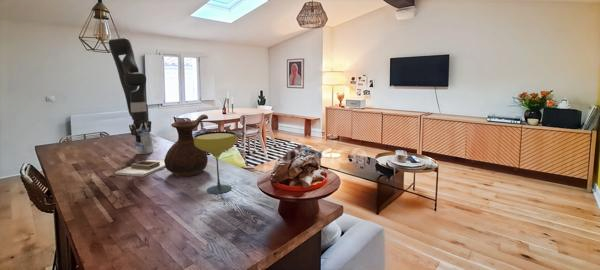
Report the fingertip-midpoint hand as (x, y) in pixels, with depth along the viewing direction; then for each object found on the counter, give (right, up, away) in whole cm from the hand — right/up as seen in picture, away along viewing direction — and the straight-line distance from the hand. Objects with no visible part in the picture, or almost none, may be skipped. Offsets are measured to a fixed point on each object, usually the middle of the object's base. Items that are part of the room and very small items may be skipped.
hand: (142, 141), depth 176 cm
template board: (0, -15, +3) cm, 16 cm away
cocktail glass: (+50, -21, -31) cm, 62 cm away
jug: (+27, -17, -6) cm, 32 cm away
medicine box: (0, -3, +1) cm, 3 cm away
